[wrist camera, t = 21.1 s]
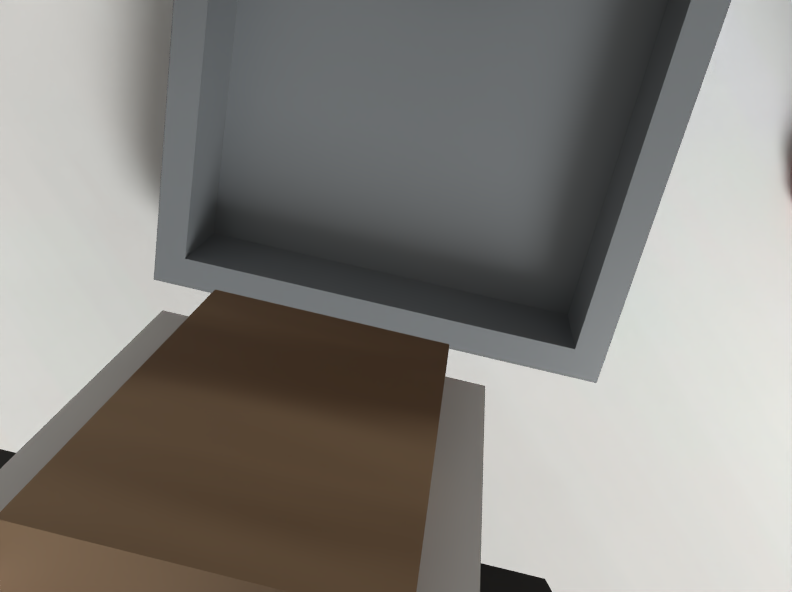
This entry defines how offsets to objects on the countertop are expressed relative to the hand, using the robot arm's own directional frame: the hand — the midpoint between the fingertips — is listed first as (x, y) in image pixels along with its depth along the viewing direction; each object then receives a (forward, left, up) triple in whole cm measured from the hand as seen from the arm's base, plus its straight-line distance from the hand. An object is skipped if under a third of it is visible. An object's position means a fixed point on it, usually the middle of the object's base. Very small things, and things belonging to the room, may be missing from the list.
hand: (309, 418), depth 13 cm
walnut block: (0, 0, 0) cm, 0 cm away
